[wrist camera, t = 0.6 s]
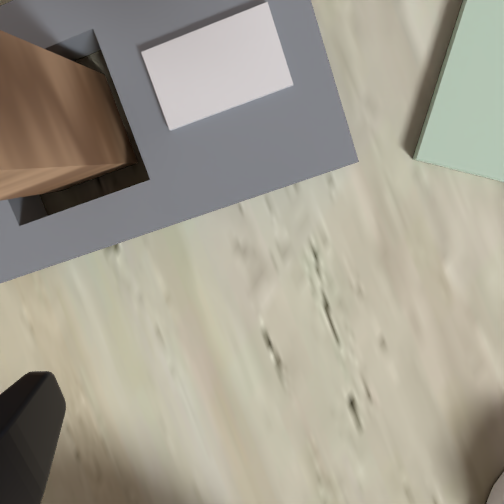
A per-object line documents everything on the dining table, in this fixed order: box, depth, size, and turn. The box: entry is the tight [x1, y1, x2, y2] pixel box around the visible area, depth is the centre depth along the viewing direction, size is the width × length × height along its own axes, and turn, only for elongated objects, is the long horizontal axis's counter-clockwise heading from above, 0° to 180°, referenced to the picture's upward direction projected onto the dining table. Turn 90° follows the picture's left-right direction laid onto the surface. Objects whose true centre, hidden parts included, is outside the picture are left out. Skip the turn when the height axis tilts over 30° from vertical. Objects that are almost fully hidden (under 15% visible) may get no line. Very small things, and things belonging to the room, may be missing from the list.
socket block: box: [0, 0, 359, 283], centre depth 20 cm, size 10×16×3 cm, turn 109°
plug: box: [0, 30, 138, 201], centre depth 16 cm, size 4×4×12 cm
